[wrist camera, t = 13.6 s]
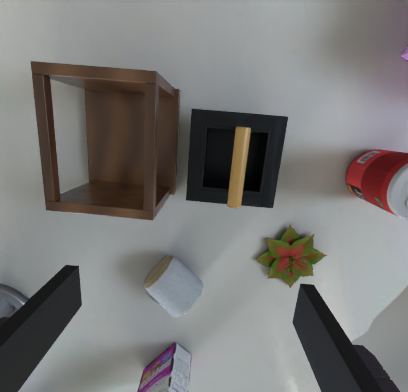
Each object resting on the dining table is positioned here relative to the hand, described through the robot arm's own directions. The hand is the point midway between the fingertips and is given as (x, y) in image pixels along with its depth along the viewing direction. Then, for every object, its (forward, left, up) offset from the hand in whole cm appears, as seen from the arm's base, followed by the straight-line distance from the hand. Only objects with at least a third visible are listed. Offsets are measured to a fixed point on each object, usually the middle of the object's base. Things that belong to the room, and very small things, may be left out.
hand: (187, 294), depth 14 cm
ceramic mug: (-5, -19, -28) cm, 34 cm away
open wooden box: (-12, +6, -28) cm, 31 cm away
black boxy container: (+4, +6, -28) cm, 29 cm away
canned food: (+26, +4, -28) cm, 39 cm away
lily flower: (+16, -12, -28) cm, 34 cm away
